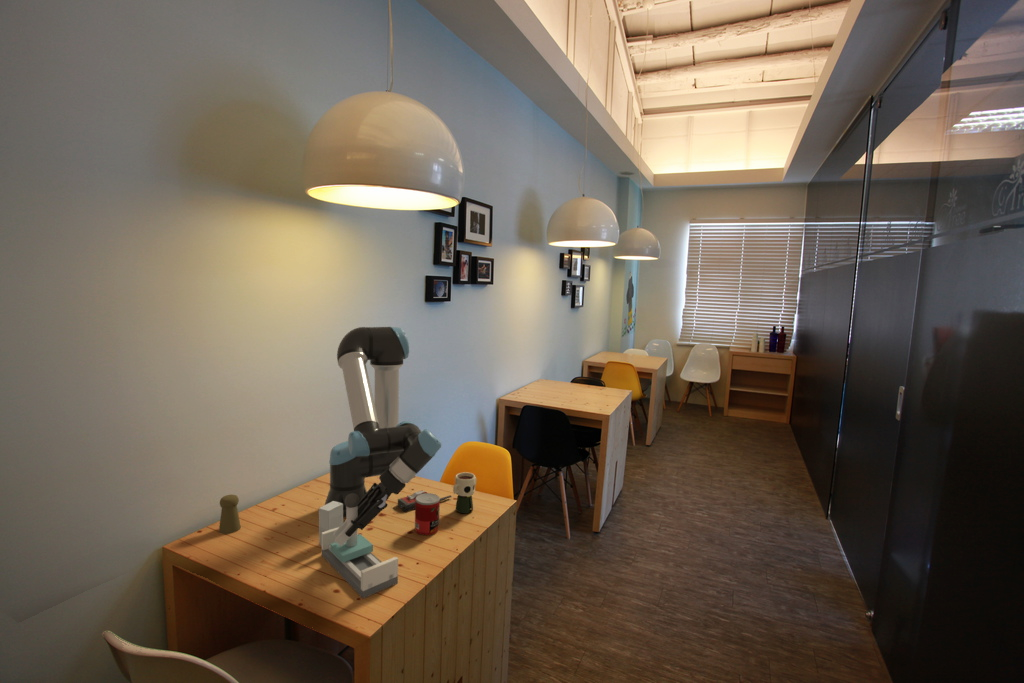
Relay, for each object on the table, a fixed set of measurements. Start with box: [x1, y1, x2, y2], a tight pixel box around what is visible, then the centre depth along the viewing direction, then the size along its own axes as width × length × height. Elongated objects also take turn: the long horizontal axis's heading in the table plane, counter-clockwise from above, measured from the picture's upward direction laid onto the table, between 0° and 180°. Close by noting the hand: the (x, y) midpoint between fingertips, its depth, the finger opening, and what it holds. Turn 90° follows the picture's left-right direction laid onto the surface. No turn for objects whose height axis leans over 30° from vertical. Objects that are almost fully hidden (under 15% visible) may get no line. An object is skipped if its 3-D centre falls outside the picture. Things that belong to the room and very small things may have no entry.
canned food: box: [414, 492, 441, 536], centre depth 156 cm, size 8×8×11 cm
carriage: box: [330, 493, 374, 563], centre depth 135 cm, size 8×9×17 cm
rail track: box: [321, 527, 399, 599], centre depth 133 cm, size 26×10×7 cm, turn 44°
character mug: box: [452, 471, 477, 514], centre depth 171 cm, size 11×7×13 cm, turn 139°
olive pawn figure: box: [218, 494, 242, 535], centre depth 151 cm, size 6×6×11 cm
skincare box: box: [318, 501, 344, 547], centre depth 146 cm, size 6×4×12 cm
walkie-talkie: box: [397, 489, 452, 512], centre depth 176 cm, size 9×4×20 cm
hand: (337, 539), depth 134 cm, fingers closed on carriage, 3 cm apart
